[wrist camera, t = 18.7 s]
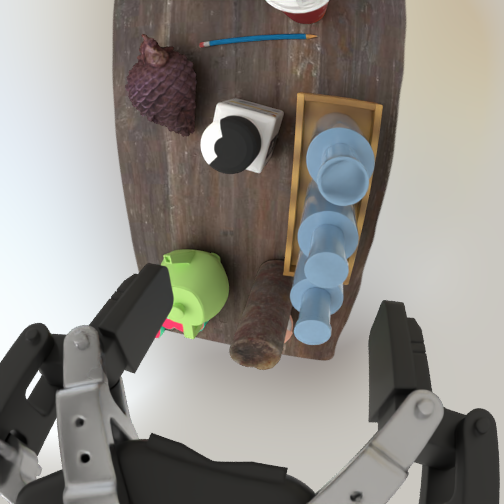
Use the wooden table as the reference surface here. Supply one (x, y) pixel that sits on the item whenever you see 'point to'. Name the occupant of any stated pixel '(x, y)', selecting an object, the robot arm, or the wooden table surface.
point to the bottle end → (313, 306)
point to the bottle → (340, 159)
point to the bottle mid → (326, 238)
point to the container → (241, 136)
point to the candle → (264, 319)
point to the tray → (306, 118)
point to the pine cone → (163, 87)
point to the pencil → (257, 38)
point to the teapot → (195, 288)
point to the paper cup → (301, 9)
